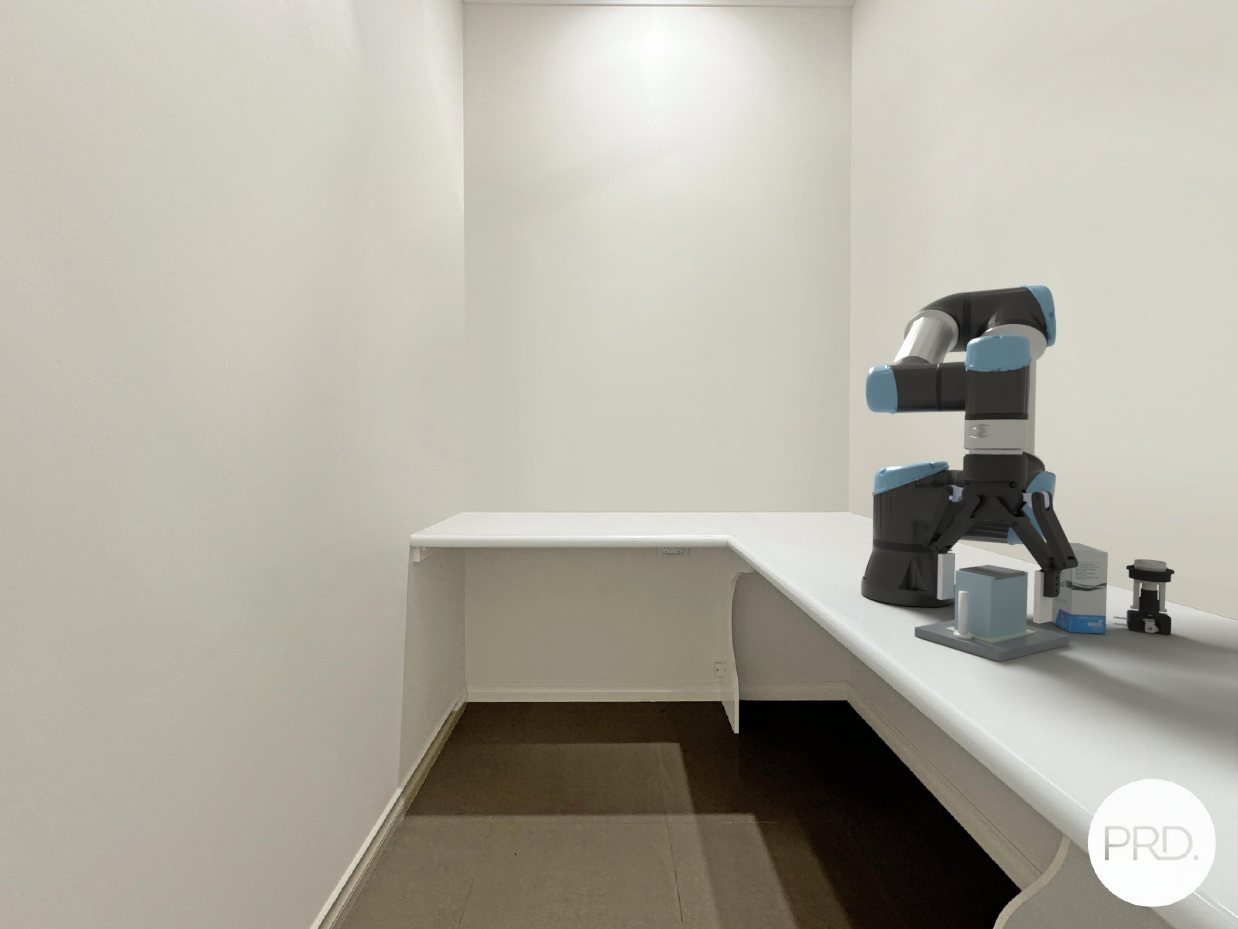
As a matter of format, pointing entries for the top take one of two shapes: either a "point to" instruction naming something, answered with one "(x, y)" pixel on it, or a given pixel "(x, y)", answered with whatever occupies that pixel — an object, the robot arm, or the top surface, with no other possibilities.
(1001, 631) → the block
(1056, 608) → the ink box
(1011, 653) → the pin tray
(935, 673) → the top surface
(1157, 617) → the push button
